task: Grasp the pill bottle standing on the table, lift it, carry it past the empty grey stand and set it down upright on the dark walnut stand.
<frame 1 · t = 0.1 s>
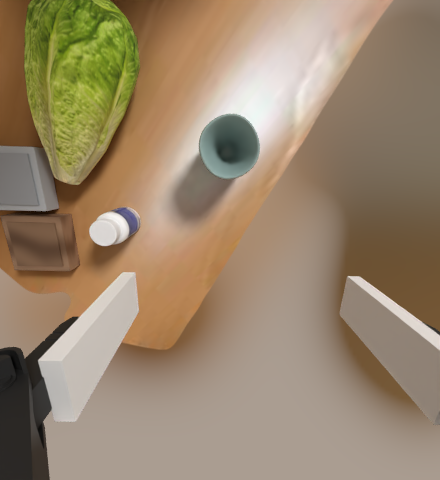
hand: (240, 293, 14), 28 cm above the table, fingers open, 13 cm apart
pill bottle: (127, 220, 41), on the table
lettuce: (98, 110, 36), on the table
cup: (226, 154, 38), on the table
stand B: (49, 239, 42), on the table
stand A: (24, 178, 38), on the table
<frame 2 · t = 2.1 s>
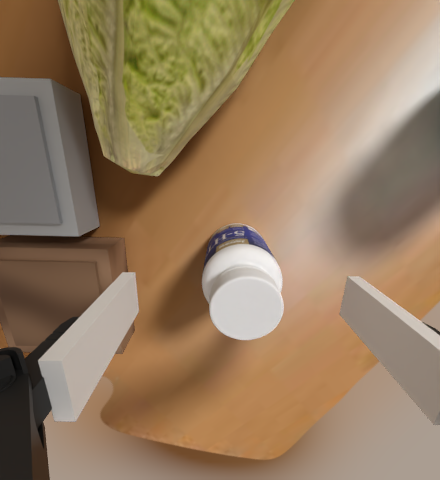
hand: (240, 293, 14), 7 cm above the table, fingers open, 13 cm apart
pill bottle: (235, 249, 20), on the table
stand B: (77, 286, 21), on the table
stand A: (28, 164, 18), on the table
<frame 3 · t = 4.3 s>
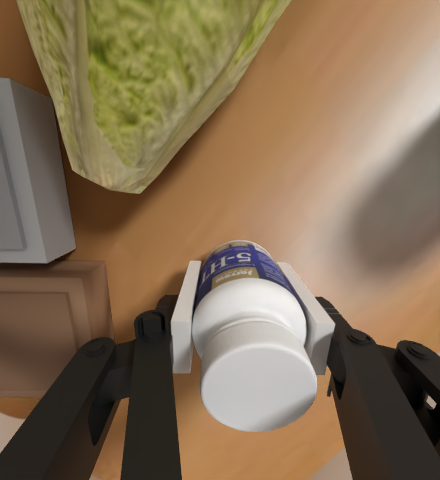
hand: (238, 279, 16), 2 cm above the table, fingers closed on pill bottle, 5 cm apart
pill bottle: (237, 272, 16), point 1 cm above the table, touching gripper
stand B: (50, 316, 18), on the table
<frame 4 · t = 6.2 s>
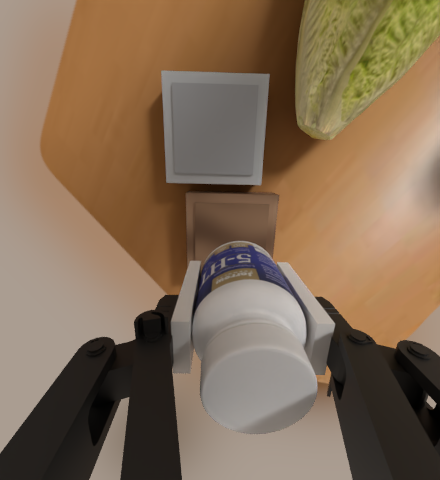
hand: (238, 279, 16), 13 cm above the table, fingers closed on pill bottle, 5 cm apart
pill bottle: (237, 273, 16), point 12 cm above the table, touching gripper
lettuce: (357, 20, 22), on the table
stand B: (229, 231, 28), on the table
stand A: (215, 136, 25), on the table
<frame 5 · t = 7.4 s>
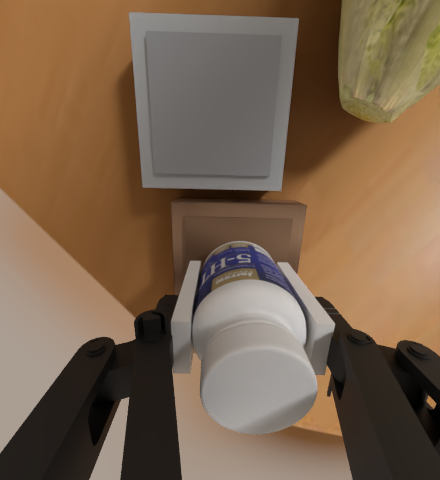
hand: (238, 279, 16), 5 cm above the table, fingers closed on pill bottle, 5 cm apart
pill bottle: (237, 273, 16), point 5 cm above the table, touching gripper
stand B: (233, 253, 21), on the table
stand A: (214, 121, 17), on the table
when the fingers open (4 cm above the table, at t = 8.3 s): pill bottle stays where it is, resting on stand B.
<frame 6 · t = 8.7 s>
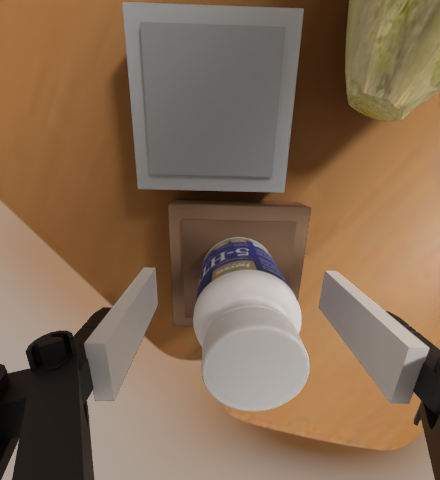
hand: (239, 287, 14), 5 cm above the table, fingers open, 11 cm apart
pill bottle: (236, 268, 17), point 3 cm above the table, touching stand B
stand B: (233, 257, 20), on the table
stand A: (213, 119, 16), on the table
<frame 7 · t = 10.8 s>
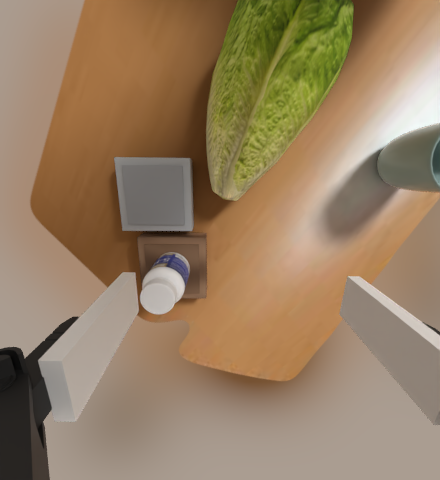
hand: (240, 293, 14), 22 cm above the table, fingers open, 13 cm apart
pill bottle: (172, 267, 33), point 3 cm above the table, touching stand B
lettuce: (255, 115, 31), on the table
cup: (392, 162, 33), on the table
stand B: (176, 262, 37), on the table
stand A: (160, 194, 34), on the table
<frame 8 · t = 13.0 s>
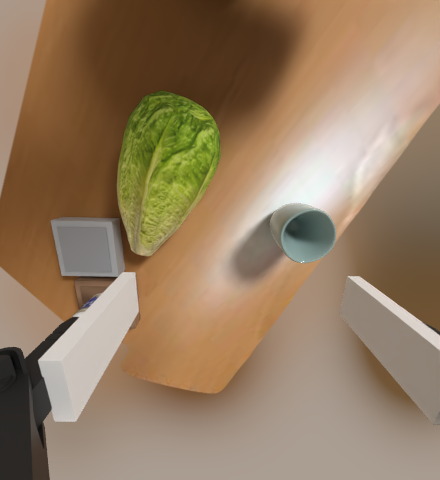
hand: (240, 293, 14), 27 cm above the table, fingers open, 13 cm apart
pill bottle: (105, 304, 41), point 3 cm above the table, touching stand B
lettuce: (168, 184, 38), on the table
cup: (286, 221, 40), on the table
stand B: (113, 296, 44), on the table
stand A: (95, 244, 41), on the table
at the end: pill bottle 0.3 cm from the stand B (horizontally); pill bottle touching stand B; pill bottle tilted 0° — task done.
